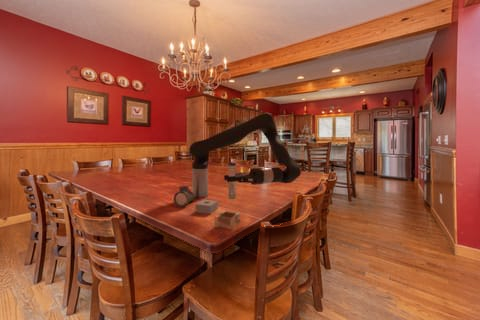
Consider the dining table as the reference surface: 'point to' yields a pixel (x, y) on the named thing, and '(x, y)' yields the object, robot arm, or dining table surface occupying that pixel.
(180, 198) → the pipe fitting
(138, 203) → the dining table surface
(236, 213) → the wooden square box frame
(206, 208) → the block
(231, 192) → the pin
